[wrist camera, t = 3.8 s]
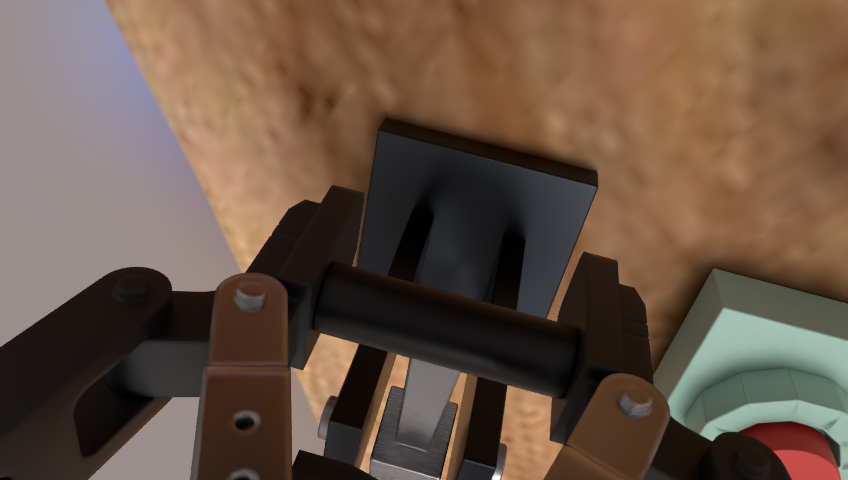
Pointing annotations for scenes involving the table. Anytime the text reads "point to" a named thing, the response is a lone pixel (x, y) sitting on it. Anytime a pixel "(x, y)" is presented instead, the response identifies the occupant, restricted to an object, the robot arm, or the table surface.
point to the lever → (438, 357)
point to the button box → (759, 361)
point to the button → (798, 449)
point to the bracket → (458, 265)
